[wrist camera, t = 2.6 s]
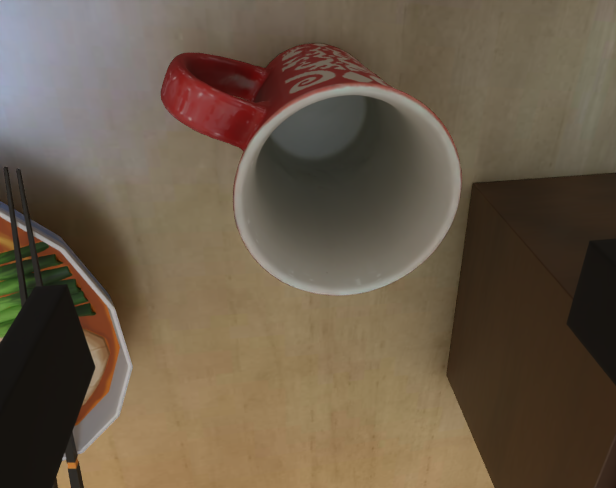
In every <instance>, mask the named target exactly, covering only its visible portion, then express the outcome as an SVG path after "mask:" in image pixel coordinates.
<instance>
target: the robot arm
mask: <svg viewBox="0 0 616 488" xmlns="http://www.w3.org/2000/svg"><path fill="white" fill-rule="evenodd" d="M566 324H567V326H568V327H569V328H570V329H571V331H572V332H573V333H574V334H575V336H576V337H577V338H578V339H579V341H580V342H581V343H582V344H583V346H584V347H585V348H586V349H587V351H588V352H589V353H590V354H591V356H592V357H593V358H594V359H595V361H596V362H597V363H598V364H599V366H600V367H601V368H602V369H603V371H604V372H605V373H606V374H607V376H608V377H609V378H610V379H611V381H612V382H613V383H614V384H615V386H616V238H615V239H603V240H591V241H589V244H588V248H587V251H586V255H585V259H584V262H583V266H582V269H581V273H580V276H579V280H578V284H577V287H576V291H575V294H574V298H573V301H572V305H571V309H570V312H569V316H568V319H567V323H566ZM95 368H96V367H95V364H94V361H93V358H92V355H91V352H90V349H89V346H88V343H87V341H86V338H85V335H84V332H83V329H82V326H81V323H80V320H79V317H78V314H77V311H76V309H75V306H74V303H73V300H72V297H71V294H70V291H69V288H68V285H67V284H63V285H51V286H39V287H34V289H33V290H32V292H31V294H30V295H29V297H28V299H27V300H26V302H25V303H24V305H23V307H22V308H21V310H20V312H19V313H18V315H17V316H16V318H15V320H14V321H13V323H12V324H11V326H10V328H9V329H8V331H7V333H6V334H5V336H4V337H3V339H2V341H1V342H0V488H52V487H53V484H54V481H55V478H56V476H57V473H58V470H59V467H60V465H61V462H62V459H63V456H64V454H65V451H66V448H67V445H68V443H69V440H70V437H71V434H72V432H73V429H74V426H75V423H76V420H77V418H78V415H79V412H80V409H81V407H82V404H83V401H84V398H85V396H86V393H87V390H88V387H89V385H90V382H91V379H92V376H93V374H94V371H95Z"/></svg>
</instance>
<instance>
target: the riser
mask: <svg viewBox="0 0 616 488" xmlns="http://www.w3.org/2000/svg"><path fill="white" fill-rule="evenodd" d="M615 238H616V173H611V174H597V175H582V176H568V177H554V178H540V179H526V180H512V181H497V182H483V183H473V186H472V194H471V201H470V208H469V215H468V223H467V230H466V237H465V245H464V252H463V259H462V266H461V274H460V281H459V288H458V296H457V303H456V310H455V317H454V325H453V332H452V339H451V347H450V354H449V361H448V368H447V378H448V380H449V382H450V385H451V387H452V389H453V392H454V394H455V396H456V399H457V401H458V403H459V406H460V408H461V410H462V413H463V415H464V417H465V420H466V422H467V424H468V427H469V429H470V431H471V434H472V436H473V438H474V441H475V443H476V445H477V448H478V450H479V452H480V455H481V457H482V459H483V462H484V464H485V466H486V469H487V471H488V473H489V476H490V478H491V480H492V483H493V485H494V487H495V488H616V386H615V384H614V383H613V382H612V381H611V379H610V378H609V377H608V376H607V374H606V373H605V372H604V371H603V369H602V368H601V367H600V366H599V364H598V363H597V362H596V361H595V359H594V358H593V357H592V356H591V354H590V353H589V352H588V351H587V349H586V348H585V347H584V346H583V344H582V343H581V342H580V341H579V339H578V338H577V337H576V336H575V334H574V333H573V332H572V331H571V329H570V328H569V327H568V326H567V324H566V323H567V319H568V316H569V312H570V309H571V305H572V301H573V298H574V294H575V291H576V287H577V284H578V280H579V276H580V273H581V269H582V266H583V262H584V259H585V255H586V251H587V248H588V244H589V241H591V240H603V239H615Z"/></svg>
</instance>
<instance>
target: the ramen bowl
mask: <svg viewBox="0 0 616 488" xmlns="http://www.w3.org/2000/svg"><path fill="white" fill-rule="evenodd" d="M16 171H17V177H18V183H19V189H20V194H21V200H22V206H23V212H24V215H23V214H21V213H20V212H18V211H16V210H14V205H13V199H12V192H11V186H10V179H9V173H8V167H4V175H5V183H6V190H7V198H8V205H6V204H4V203H3V202H1V201H0V342H1V341H2V339H3V337H4V336H5V334H6V333H7V331H8V329H9V328H10V326H11V324H12V323H13V321H14V320H15V318H16V316H17V315H18V313H19V312H20V310H21V308H22V307H23V305H24V303H25V302H26V300H27V299H28V297H29V295H30V294H31V292H32V290H33V289H34V287H39V286H51V285H63V284H67V285H68V288H69V291H70V294H71V297H72V300H73V303H74V306H75V309H76V311H77V314H78V317H79V320H80V323H81V326H82V329H83V332H84V335H85V338H86V341H87V343H88V346H89V349H90V352H91V355H92V358H93V361H94V364H95V367H96V368H95V371H94V374H93V376H92V379H91V382H90V385H89V387H88V390H87V393H86V396H85V398H84V401H83V404H82V407H81V409H80V412H79V415H78V418H77V420H76V423H75V426H74V429H73V432H72V434H71V437H70V440H69V443H68V445H67V448H66V451H65V454H64V456H63V459H62V461H63V460H65V459H66V461H67V464H68V473H69V479H70V484H71V488H84V486H83V481H82V476H81V471H80V466H79V461H78V460H77V455H78V454H80V453H83V452H84V451H85V450H86V449H87V448H88V447H89V446H90V445H91V444H92V443H93V442H94V441H95V440H96V439H97V438H98V437H99V436H100V435H101V434H102V433H103V432H104V431H105V430H106V429H107V428H108V427H109V426H110V425H111V424H112V423H113V422H114V421H115V420H116V419H117V418H118V417H119V415H120V411H121V408H122V404H123V401H124V397H125V393H126V390H127V386H128V382H129V379H130V375H131V371H132V368H133V366H132V363H131V359H130V356H129V353H128V350H127V346H126V343H125V340H124V337H123V333H122V330H121V327H120V324H119V320H118V317H117V314H116V311H115V308H114V305H113V302H112V300H111V297H110V295H109V294H108V293H107V291H106V290H105V289H104V288H103V287H102V285H101V284H100V283H99V282H98V281H97V279H96V278H95V277H94V276H93V275H92V273H91V272H90V271H89V270H88V269H87V268H86V266H85V265H84V264H83V263H82V262H81V260H80V259H79V258H78V257H77V256H76V255H75V253H74V252H73V251H72V250H71V249H70V247H69V246H68V245H67V244H66V243H65V242H64V240H63V239H62V238H61V237H60V236H58V235H57V234H55V233H53V232H52V231H50V230H48V229H47V228H45V227H43V226H42V225H40V224H38V223H36V222H35V221H33V220H31V219H30V216H29V211H28V206H27V201H26V196H25V191H24V186H23V181H22V176H21V171H20V169H16ZM52 488H58V485H57V479H56V478H55V481H54V484H53V487H52Z"/></svg>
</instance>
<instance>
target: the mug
mask: <svg viewBox="0 0 616 488" xmlns="http://www.w3.org/2000/svg"><path fill="white" fill-rule="evenodd" d="M234 96H236V97H234ZM237 97H240V98H243V99H240V98H237ZM244 99H245V100H244ZM161 100H162V102H163V104H164V106H165V108H166V109H167V110H168V111H169V113H170V114H172V115H173V116H174V117H175V118H176V119H177V120H179V121H180V122H182V123H183V124H185V125H186V126H188V127H190V128H192V129H193V130H195V131H197V132H199V133H201V134H204V135H207V136H209V137H211V138H214V139H217V140H220V141H223V142H226V143H230V144H231V145H234V146H237V147H239V148H241V149H242V150H243V152H244V153H243V154H242V157H241V160H240V163H239V165H238V169H237V172H236V176H235V181H234V189H233V210H234V217H235V221H236V225H237V228H238V231H239V233H240V236H241V238H242V240H243V242H244V244H245V246H246V247H247V249H248V251H249V252H250V254H251V255H252V256H253V258H254V259H255V260H256V261H257V262H258V263H259V264H260V265H261V266H262V267H263V268H264V269H265V270H266V271H267V272H268V273H270V274H271V275H272V276H274V277H275V278H277V279H278V280H280V281H281V282H283V283H285V284H287V285H289V286H292V287H295V288H297V289H300V290H303V291H307V292H311V293H316V294H323V295H335V296H339V295H353V294H360V293H364V292H368V291H372V290H376V289H379V288H381V287H384V286H386V285H389V284H391V283H393V282H395V281H397V280H399V279H400V278H402V277H404V276H405V275H407V274H409V273H410V272H412V271H413V270H414V269H416V268H417V267H418V266H419V265H421V264H422V263H423V262H424V261H425V260H426V259H427V258H428V257H430V255H431V254H432V253H433V252H434V251H435V249H436V248H437V247H438V246H439V244H440V243H441V241H442V240H443V239H444V237H445V236H446V234H447V232H448V230H449V228H450V226H451V225H452V222H453V220H454V218H455V215H456V212H457V208H458V205H459V200H460V195H461V186H462V170H461V167H460V160H459V156H458V152H457V149H456V146H455V144H454V142H453V139H452V137H451V135H450V134H449V132H448V130H447V128H446V127H445V126H444V124H443V123H442V122H441V120H440V119H439V118H438V117H437V116H436V115H435V114H434V113H433V112H432V111H431V110H430V109H429V108H428V107H427V106H425V105H424V104H423V103H421V102H420V101H419V100H417V99H415V98H413V97H412V96H410V95H408V94H407V93H405V92H402V91H400V90H397V89H395V88H393V87H391V86H390V85H388V84H387V83H385V82H384V81H383V80H382V79H380V77H378V76H377V75H376V74H374V73H373V72H371V71H370V70H369V69H367V68H366V67H365V66H363V65H362V64H361V63H360V62H359V61H358V60H356V59H355V58H354V57H353V56H351V55H350V54H348V53H347V52H345V51H343V50H341V49H339V48H337V47H334V46H330V45H326V44H314V43H312V44H303V45H299V46H295V47H293V48H291V49H288V50H286V51H284V52H283V53H281V54H280V55H278V56H277V57H276V58H275V59H273V60H272V61H271V62H270V63H269V65H268V66H267V67H266V68H263V67H259V66H254V65H251V64H248V63H245V62H241V61H237V60H233V59H229V58H225V57H221V56H215V55H210V54H204V53H183V54H180V55H178V56H176V57H175V58H174V59H173V60H172V62H171V63H170V65H169V67H168V69H167V72H166V75H165V78H164V81H163V85H162V89H161Z"/></svg>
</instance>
